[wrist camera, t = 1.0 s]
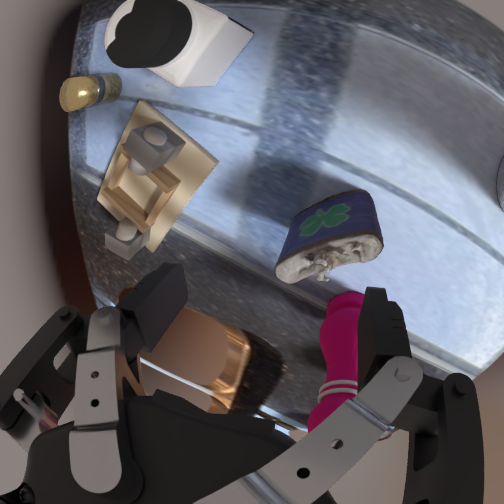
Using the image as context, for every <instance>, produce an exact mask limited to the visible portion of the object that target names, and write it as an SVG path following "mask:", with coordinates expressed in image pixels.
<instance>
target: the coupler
mask: <svg viewBox="0 0 504 504" xmlns="http://www.w3.org/2000/svg"><path fill="white" fill-rule="evenodd" d="M121 89H122V82H121V79H120V77H119V76H118V75H117V74H115V73H107V74H93V75H87V76H81V77H74V78H69V79H67V80H65V81H64V83H63V84H62V86H61V89H60V96H59V97H60V98H59V99H60V104H61V107H62V108H63V110H64V111H66V112H70V111H74V110H78V109H82V108H87V107H92V106H96V105H99V104H103V103H108V102H113V101H115V100H116V99H117V98H118V97H119V95H120V93H121Z"/></svg>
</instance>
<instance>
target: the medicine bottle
mask: <svg viewBox="0 0 504 504" xmlns="http://www.w3.org/2000/svg"><path fill="white" fill-rule="evenodd" d="M253 36H254V32H253V31H251V30H250V29H248V28H247V27H245V26H243V25H242V24H240V23H239V22H237V21H235V20H234V19H232V18H230V17H228V16H227V15H225V14H223V13H221V12H219V11H217V10H215V9H212V8H210V7H208V6H206V5H204V4H201V3H199V2H197V1H194V0H127V1H126V2H124V3H123V4H122V5H121V6H120V7H119V8H118V9H117V10H116V11H115V12H114V14H113V15H112V17H111V19H110V20H109V23H108V25H107V28H106V32H105V38H104V43H105V49H106V52H107V54H108V56H109V58H110V59H111V61H112V62H113V63H114V64H116V65H117V66H119V67H123V68H147V69H149V70H151V71H152V72H154V73H155V74H157V75H159V76H160V77H162V78H163V79H165V80H166V81H168V82H169V83H171V84H172V85H174V86H175V87H212V86H215V85H216V84H217V82H218V81H219V80H220V78H221V77H222V76H223V74H224V73H225V71H226V70H227V69H228V67H229V66H230V65H231V63H232V62H233V61H234V60H235V58H236V57H237V56H238V54H239V53H240V52H241V51H242V49H243V48H244V47H245V46H246V44H247V43H248V42H249V41H250V40H251V38H252V37H253Z"/></svg>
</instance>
